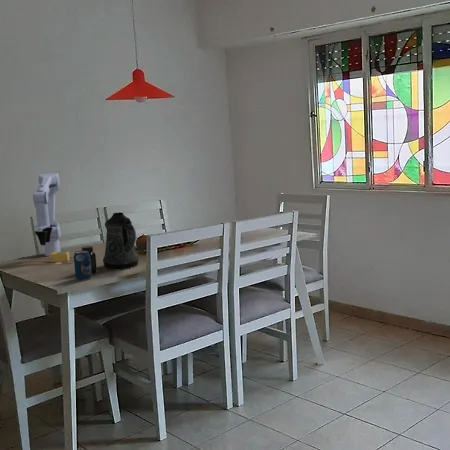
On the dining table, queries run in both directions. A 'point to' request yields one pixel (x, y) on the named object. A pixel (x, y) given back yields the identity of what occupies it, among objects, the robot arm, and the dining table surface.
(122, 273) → the dining table surface
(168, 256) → the dining table surface
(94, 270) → the supplement bottle
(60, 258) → the block
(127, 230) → the beer stein
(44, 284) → the dining table surface
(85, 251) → the soda can
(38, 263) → the board
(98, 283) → the dining table surface
